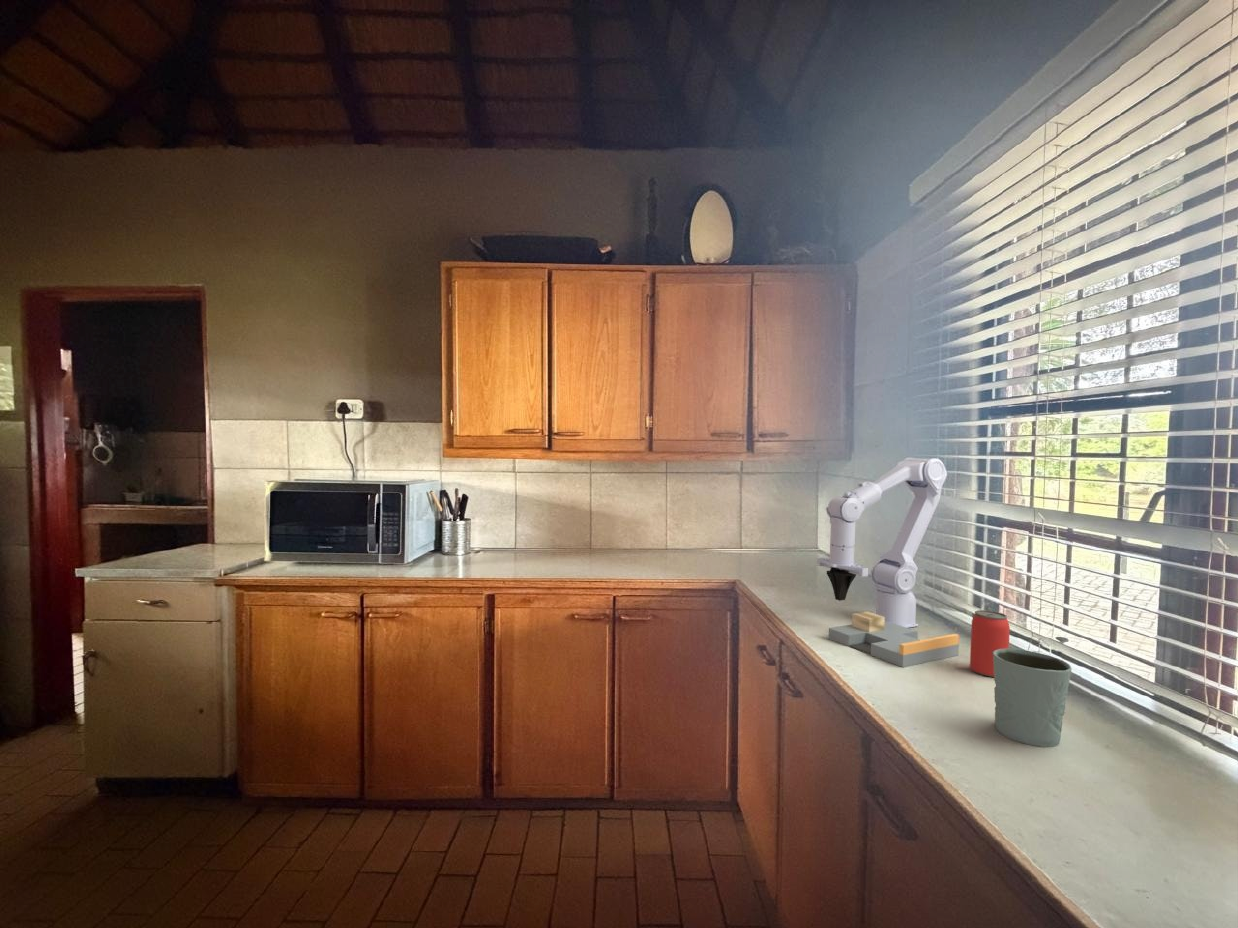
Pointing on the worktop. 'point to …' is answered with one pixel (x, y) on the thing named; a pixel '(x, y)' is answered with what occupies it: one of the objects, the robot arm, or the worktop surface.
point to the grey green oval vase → (1030, 696)
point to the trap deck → (897, 644)
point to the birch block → (868, 621)
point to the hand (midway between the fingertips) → (840, 599)
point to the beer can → (987, 640)
